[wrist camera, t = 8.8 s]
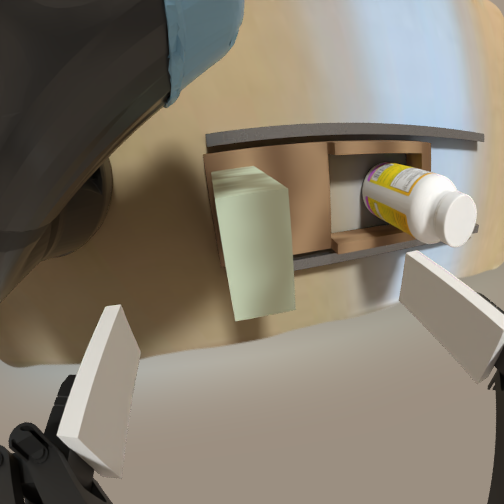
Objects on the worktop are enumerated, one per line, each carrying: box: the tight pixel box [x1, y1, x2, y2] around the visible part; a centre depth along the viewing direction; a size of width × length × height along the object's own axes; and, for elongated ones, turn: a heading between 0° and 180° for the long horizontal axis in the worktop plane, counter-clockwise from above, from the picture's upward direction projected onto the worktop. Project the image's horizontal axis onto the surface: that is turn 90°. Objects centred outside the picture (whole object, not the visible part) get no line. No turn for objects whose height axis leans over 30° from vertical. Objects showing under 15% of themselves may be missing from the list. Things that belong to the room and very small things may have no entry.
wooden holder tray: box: [203, 140, 431, 321], centre depth 24 cm, size 24×11×13 cm, turn 97°
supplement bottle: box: [362, 162, 476, 247], centre depth 25 cm, size 7×7×13 cm
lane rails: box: [206, 123, 484, 271], centre depth 30 cm, size 38×15×2 cm, turn 97°
